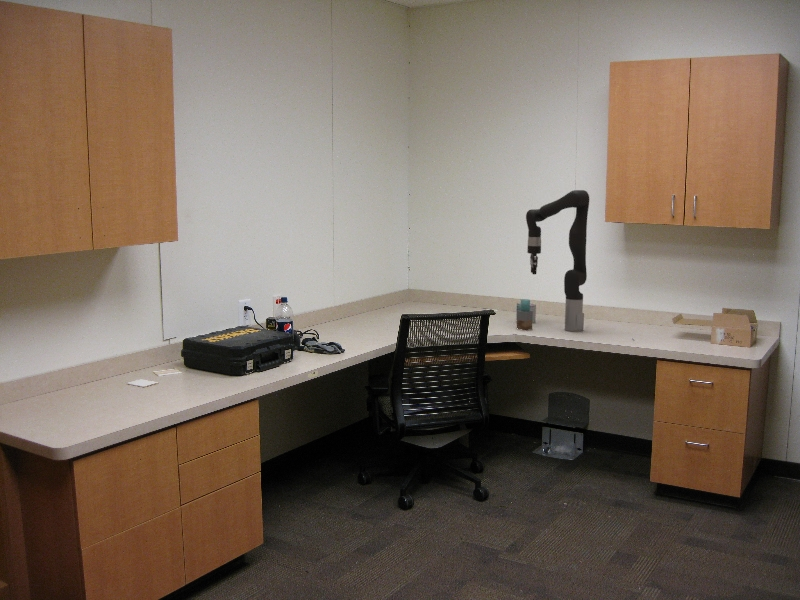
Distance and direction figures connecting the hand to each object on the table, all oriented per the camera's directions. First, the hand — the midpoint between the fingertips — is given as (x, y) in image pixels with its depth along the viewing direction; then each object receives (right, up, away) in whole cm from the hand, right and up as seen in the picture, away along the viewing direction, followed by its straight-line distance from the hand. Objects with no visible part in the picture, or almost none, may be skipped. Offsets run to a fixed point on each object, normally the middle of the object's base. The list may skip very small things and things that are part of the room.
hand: (533, 273), depth 458 cm
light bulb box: (-3, -28, +5) cm, 29 cm away
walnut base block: (-8, -31, -16) cm, 35 cm away
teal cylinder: (-7, -21, -17) cm, 28 cm away
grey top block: (-7, -26, -16) cm, 32 cm away
